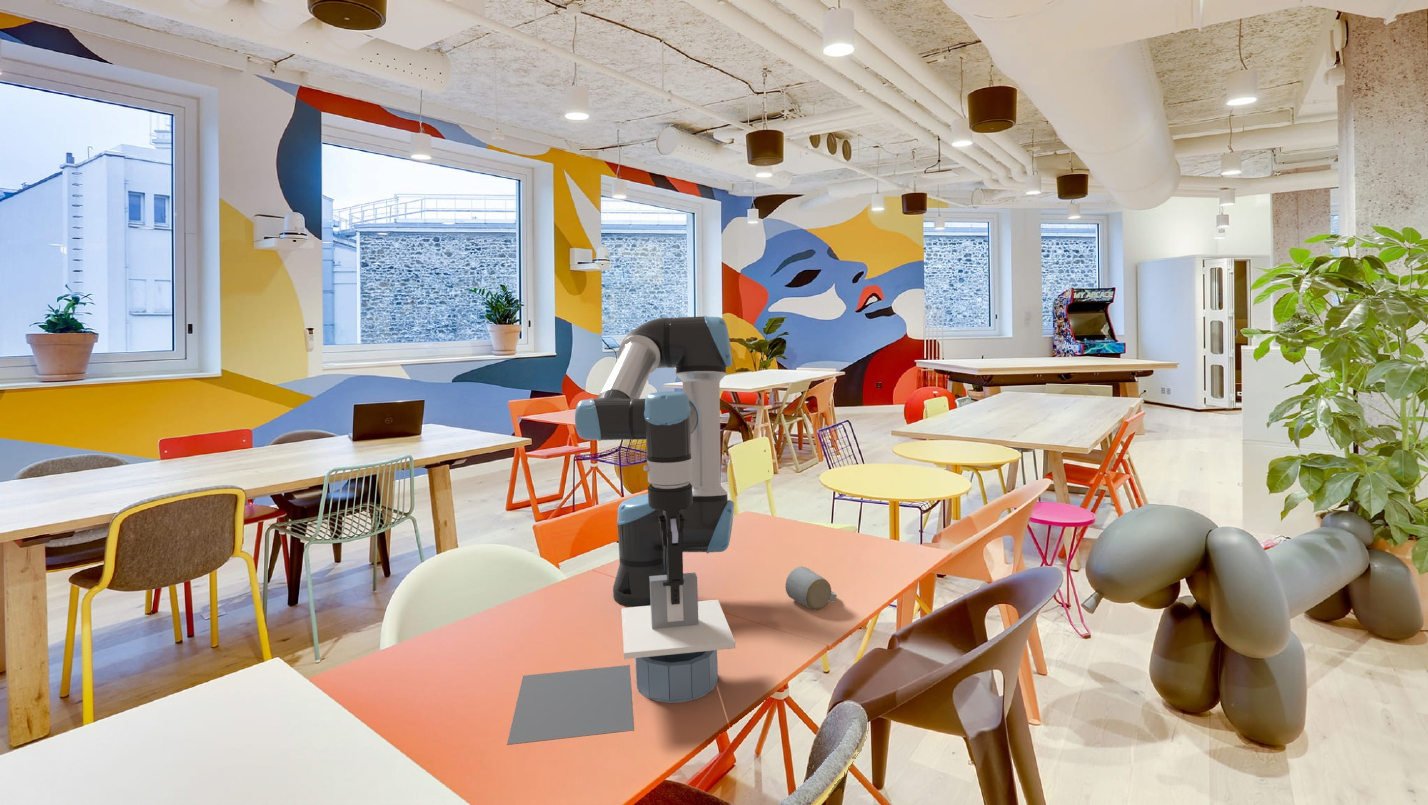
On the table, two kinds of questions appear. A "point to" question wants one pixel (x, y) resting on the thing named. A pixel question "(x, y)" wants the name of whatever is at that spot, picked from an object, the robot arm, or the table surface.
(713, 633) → the lid
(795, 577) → the ceramic mug
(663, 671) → the bowl
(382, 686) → the table surface
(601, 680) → the mat
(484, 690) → the table surface
